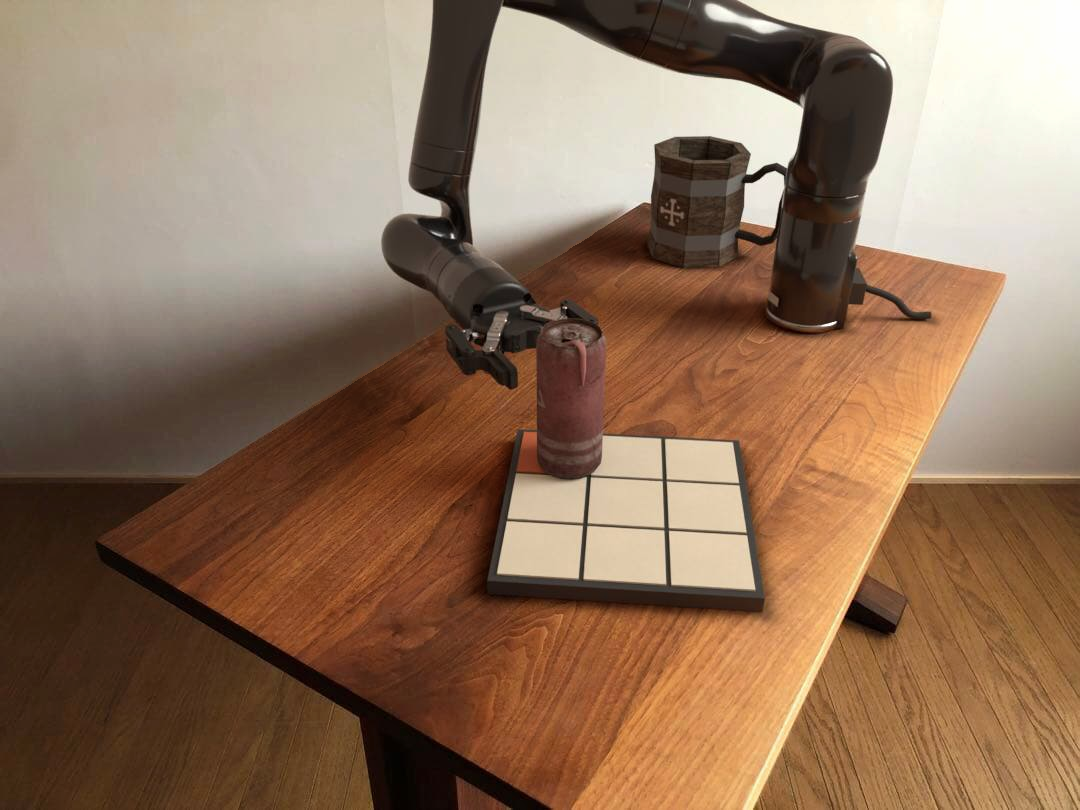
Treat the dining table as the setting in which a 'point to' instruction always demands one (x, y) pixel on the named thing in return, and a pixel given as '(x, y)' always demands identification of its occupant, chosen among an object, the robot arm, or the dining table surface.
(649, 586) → the board
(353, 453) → the dining table surface
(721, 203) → the mug
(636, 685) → the dining table surface
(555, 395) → the can
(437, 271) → the robot arm
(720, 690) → the dining table surface
